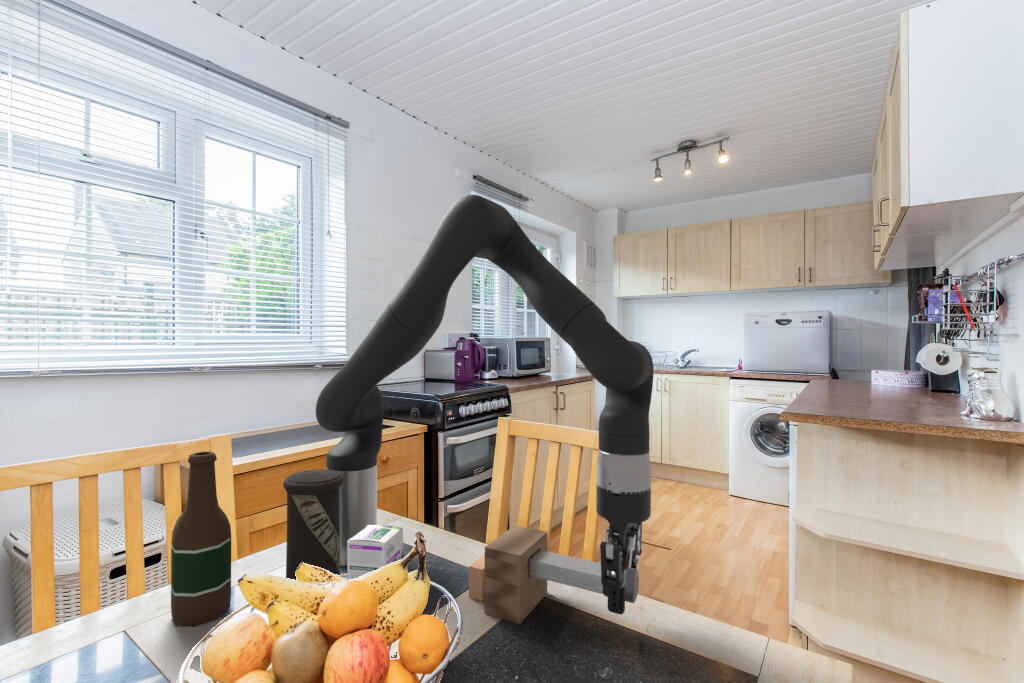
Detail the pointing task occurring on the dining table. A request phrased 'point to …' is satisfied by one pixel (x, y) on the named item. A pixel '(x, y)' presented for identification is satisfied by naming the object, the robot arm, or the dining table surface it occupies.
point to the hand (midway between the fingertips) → (622, 600)
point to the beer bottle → (201, 550)
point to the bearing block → (513, 574)
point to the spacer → (477, 579)
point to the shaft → (577, 573)
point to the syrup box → (373, 549)
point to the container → (313, 520)
